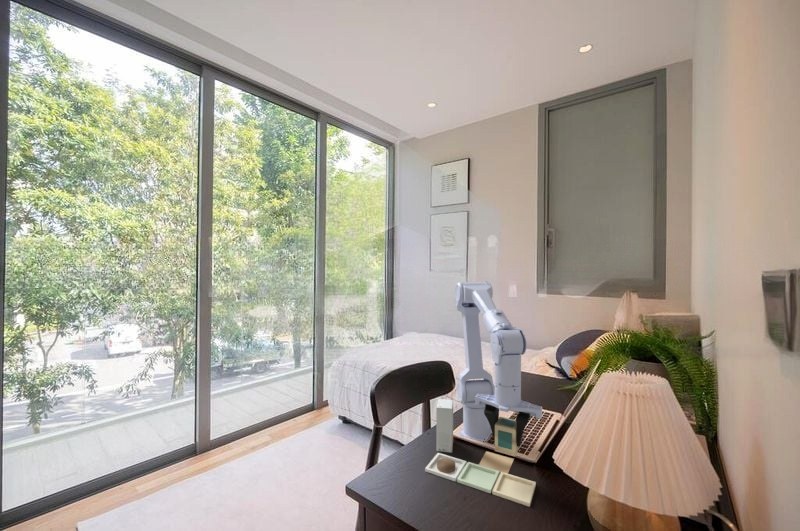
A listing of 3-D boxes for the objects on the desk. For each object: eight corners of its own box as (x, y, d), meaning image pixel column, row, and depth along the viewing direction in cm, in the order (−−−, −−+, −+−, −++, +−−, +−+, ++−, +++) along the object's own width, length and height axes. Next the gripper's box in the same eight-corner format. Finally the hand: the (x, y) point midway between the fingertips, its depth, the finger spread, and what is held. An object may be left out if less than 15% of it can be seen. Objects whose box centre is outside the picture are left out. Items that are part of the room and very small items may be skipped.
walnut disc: (441, 460, 86) (441, 456, 86) (458, 465, 84) (458, 461, 84) (434, 469, 83) (434, 465, 83) (451, 475, 80) (451, 471, 80)
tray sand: (501, 476, 81) (501, 471, 81) (535, 487, 77) (535, 482, 77) (492, 496, 74) (492, 490, 74) (529, 509, 70) (529, 503, 70)
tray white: (438, 457, 89) (438, 452, 89) (466, 466, 85) (466, 461, 85) (425, 473, 82) (425, 468, 82) (455, 483, 78) (455, 478, 78)
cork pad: (486, 453, 90) (486, 451, 90) (513, 461, 87) (513, 458, 87) (478, 467, 84) (478, 465, 84) (507, 476, 81) (507, 474, 81)
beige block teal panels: (499, 441, 82) (499, 415, 82) (519, 446, 80) (519, 420, 79) (494, 451, 78) (494, 424, 78) (515, 457, 76) (515, 429, 75)
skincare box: (452, 454, 90) (452, 409, 90) (436, 452, 91) (435, 407, 90) (453, 442, 96) (453, 399, 95) (438, 440, 97) (438, 398, 96)
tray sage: (468, 466, 85) (468, 461, 85) (499, 476, 81) (499, 471, 81) (456, 484, 78) (457, 479, 78) (490, 495, 74) (490, 490, 74)
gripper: (470, 382, 79) (470, 440, 79) (539, 395, 71) (538, 459, 72) (480, 372, 85) (480, 427, 85) (543, 383, 77) (543, 443, 78)
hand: (507, 441), depth 79 cm, fingers closed on beige block teal panels, 4 cm apart
